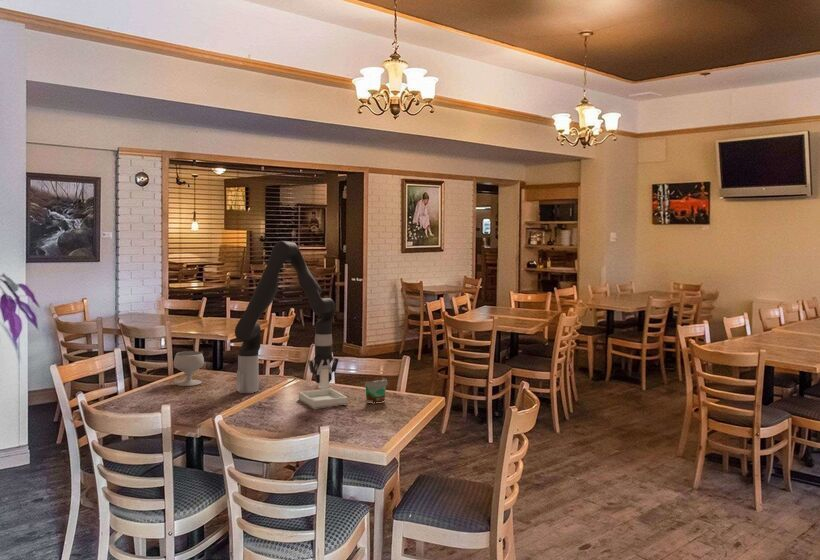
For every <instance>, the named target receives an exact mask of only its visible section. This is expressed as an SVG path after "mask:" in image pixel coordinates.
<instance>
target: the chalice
mask: <svg viewBox="0 0 820 560" xmlns="http://www.w3.org/2000/svg"><path fill="white" fill-rule="evenodd" d="M204 364H205V358H204V356H203V353H202V352H201V351H198V350H197V351H193V350H191V351H190V350H189V351H187V350H186V351H179V352H177V353H175V355H174V359H173V366H174V367H175V369H176V370H179V371H181V372H183V373H184V374H185V375H186V379H184V380H179V381H177V382H176V383H175V385H176V386H180V387H193V386H194V387H195V386H197V385H201V384H203V381H201V380H198V379H192V375H193V374H194V373H195V372H197V371H198V370H199V369H202V367H203V366H204Z"/></svg>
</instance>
